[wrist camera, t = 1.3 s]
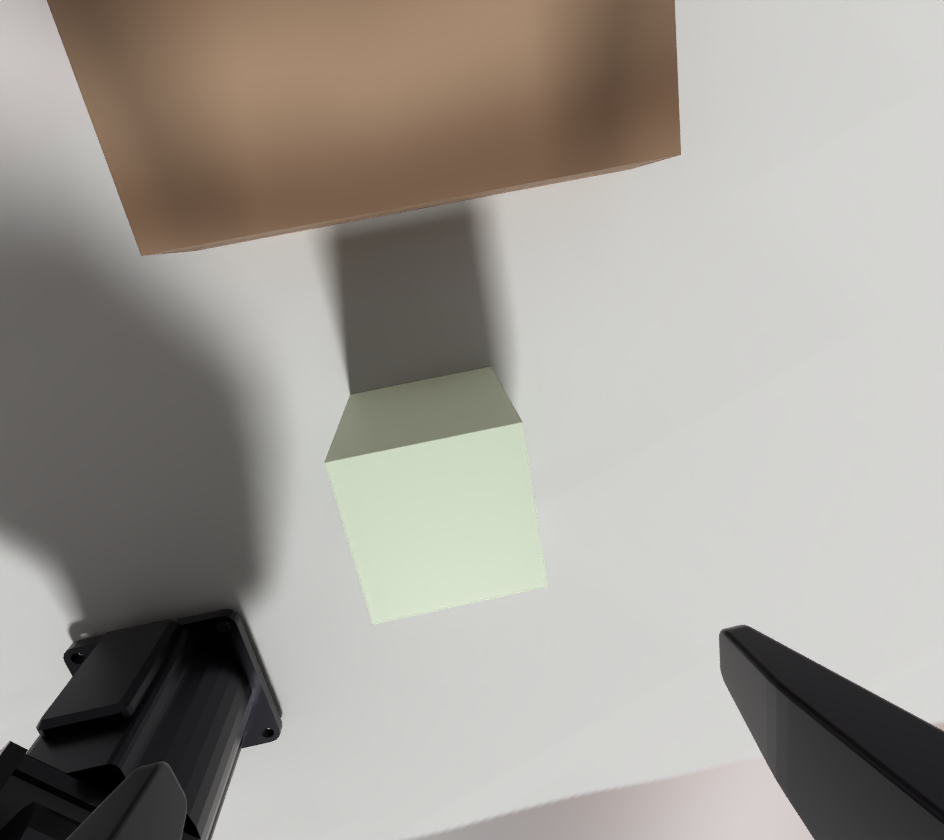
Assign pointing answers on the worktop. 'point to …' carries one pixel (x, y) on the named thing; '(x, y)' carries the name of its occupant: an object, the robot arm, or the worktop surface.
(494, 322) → the worktop surface
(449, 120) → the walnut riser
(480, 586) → the sage block
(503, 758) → the worktop surface
